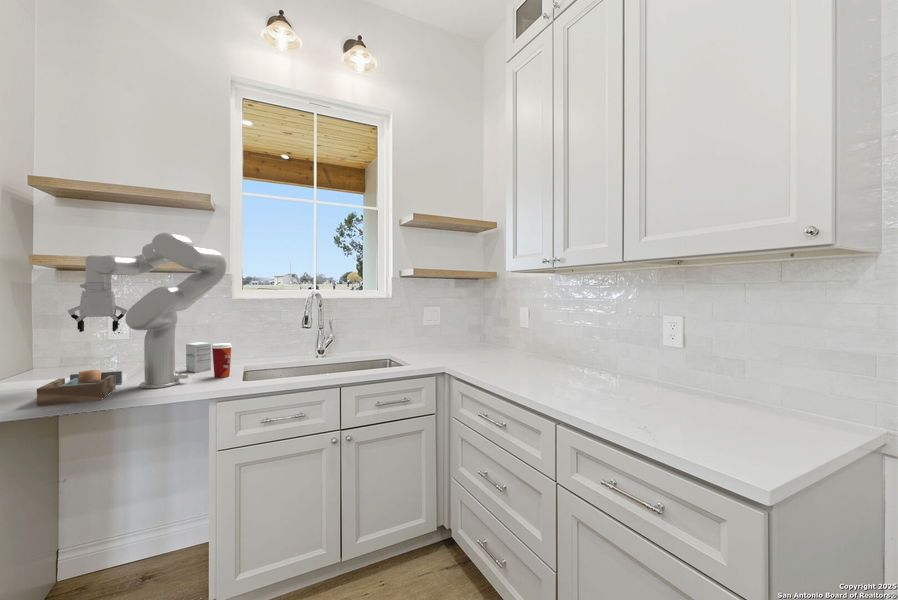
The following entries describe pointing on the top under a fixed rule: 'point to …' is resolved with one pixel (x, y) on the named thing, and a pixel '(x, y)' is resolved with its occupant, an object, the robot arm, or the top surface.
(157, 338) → the robot arm
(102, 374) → the tray
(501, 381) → the top surface
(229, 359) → the paper cup
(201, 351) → the supplement box
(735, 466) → the top surface
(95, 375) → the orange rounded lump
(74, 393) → the brown wooden open box
